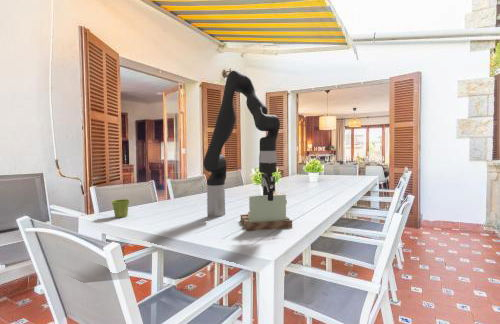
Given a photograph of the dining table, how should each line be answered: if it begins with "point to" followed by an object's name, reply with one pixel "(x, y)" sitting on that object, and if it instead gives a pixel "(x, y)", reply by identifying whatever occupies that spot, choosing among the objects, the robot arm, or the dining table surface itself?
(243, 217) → the rack
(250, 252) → the dining table surface
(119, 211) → the plant pot
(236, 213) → the dining table surface
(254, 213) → the panel
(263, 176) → the robot arm
